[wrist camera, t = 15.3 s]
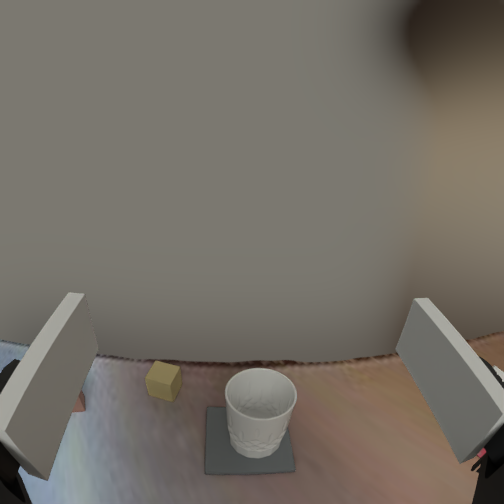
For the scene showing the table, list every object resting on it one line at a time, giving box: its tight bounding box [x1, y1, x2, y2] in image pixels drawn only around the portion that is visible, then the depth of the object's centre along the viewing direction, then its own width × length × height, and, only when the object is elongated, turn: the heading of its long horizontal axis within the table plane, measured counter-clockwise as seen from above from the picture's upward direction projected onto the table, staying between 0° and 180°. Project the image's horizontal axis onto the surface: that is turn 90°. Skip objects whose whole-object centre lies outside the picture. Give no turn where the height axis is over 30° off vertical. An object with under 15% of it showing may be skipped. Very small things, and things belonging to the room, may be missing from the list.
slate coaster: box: [205, 407, 296, 475], centre depth 36 cm, size 11×11×1 cm
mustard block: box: [145, 361, 182, 402], centre depth 43 cm, size 4×4×4 cm
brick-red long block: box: [72, 390, 85, 412], centre depth 36 cm, size 6×3×4 cm, turn 114°
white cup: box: [225, 368, 297, 458], centre depth 34 cm, size 8×8×10 cm
